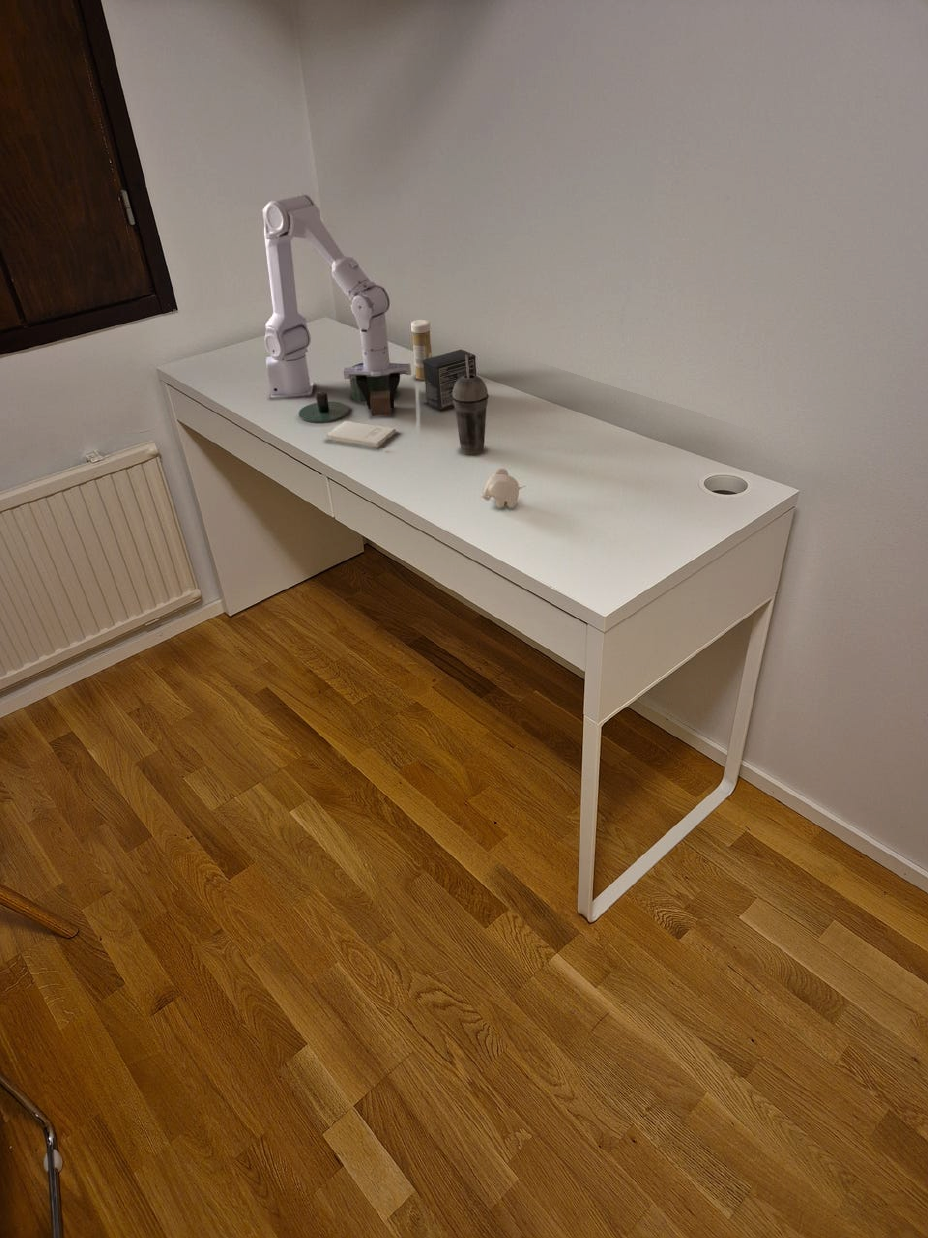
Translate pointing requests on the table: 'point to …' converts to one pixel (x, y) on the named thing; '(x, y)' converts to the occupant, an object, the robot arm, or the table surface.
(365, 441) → the hard drive
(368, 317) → the robot arm
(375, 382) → the green faceted bucket
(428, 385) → the small box
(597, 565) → the table surface
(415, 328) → the sprinkles bottle
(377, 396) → the block
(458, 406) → the beverage cup
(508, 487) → the elephant figurine
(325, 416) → the lid
